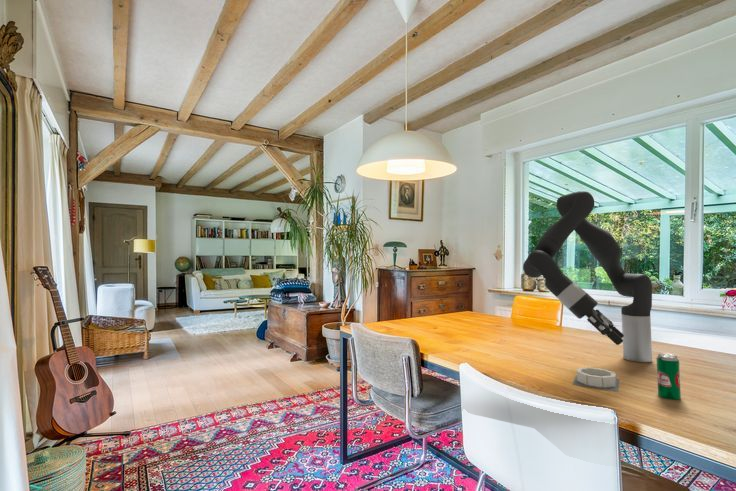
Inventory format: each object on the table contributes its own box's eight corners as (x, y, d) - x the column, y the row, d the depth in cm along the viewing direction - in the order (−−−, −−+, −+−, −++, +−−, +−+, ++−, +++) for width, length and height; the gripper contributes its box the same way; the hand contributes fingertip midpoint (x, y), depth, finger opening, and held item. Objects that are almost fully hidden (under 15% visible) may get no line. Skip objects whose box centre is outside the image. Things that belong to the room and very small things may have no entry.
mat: (577, 374, 129) (577, 373, 129) (619, 380, 122) (619, 379, 122) (572, 385, 118) (572, 384, 118) (618, 393, 111) (618, 391, 111)
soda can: (653, 395, 109) (651, 353, 109) (669, 394, 109) (667, 352, 110) (668, 401, 104) (666, 357, 104) (685, 401, 104) (683, 357, 105)
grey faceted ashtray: (579, 374, 127) (579, 365, 128) (616, 380, 121) (615, 370, 122) (575, 383, 119) (575, 373, 119) (615, 389, 113) (614, 379, 113)
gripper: (583, 294, 113) (631, 336, 106) (588, 290, 125) (631, 328, 118) (564, 310, 116) (609, 353, 109) (570, 305, 128) (612, 343, 121)
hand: (621, 340), depth 113 cm, fingers open, 8 cm apart
